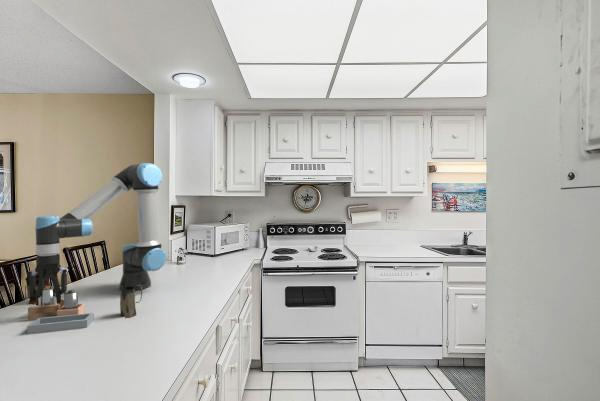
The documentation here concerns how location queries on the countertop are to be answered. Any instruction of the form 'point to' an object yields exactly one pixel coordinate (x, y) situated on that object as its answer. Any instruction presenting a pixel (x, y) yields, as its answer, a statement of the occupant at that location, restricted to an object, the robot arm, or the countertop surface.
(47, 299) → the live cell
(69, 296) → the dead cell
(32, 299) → the coffee cup
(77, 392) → the countertop surface
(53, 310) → the checker cradle
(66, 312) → the pink square tray
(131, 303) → the mug
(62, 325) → the trough
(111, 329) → the countertop surface
